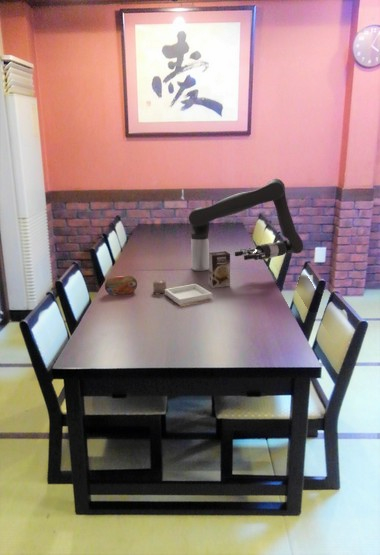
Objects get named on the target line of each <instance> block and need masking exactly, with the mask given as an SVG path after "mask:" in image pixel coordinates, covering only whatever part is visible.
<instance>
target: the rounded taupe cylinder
mask: <svg viewBox="0 0 380 555" xmlns="http://www.w3.org/2000/svg"><path fill="white" fill-rule="evenodd" d="M152 284H153V285H152V287H153V294H155V293H163V294H165V289H167V281H166V280H164V279H157V280H153V282H152Z"/></svg>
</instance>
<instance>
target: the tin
mask: <svg viewBox="0 0 380 555" xmlns="http://www.w3.org/2000/svg"><path fill="white" fill-rule="evenodd" d="M137 287H138V280H137V279H136V278H135V277H133V275H129V274H128V275H127V274H126V275H121V276H112V277H111V276H110V277H109V278H107V280H106V281H105V283H104V289H105V292H107V294H108V295H111V296H115V295H114V294H119V295H126V294H131V293H133V292H135V291H136V289H137ZM125 293H126V294H125Z"/></svg>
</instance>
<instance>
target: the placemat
mask: <svg viewBox="0 0 380 555" xmlns="http://www.w3.org/2000/svg"><path fill="white" fill-rule="evenodd" d="M210 300H212V301H213V298H212V299H208V300H203V301H198V302H193V303H188V304H183V305H179V306H180V307H181V306H182V307H186V305H187V306H192V305H196V304H195V303H197V304H201V302H202V303H205V301H207V302H211V301H210ZM191 304H192V305H191Z"/></svg>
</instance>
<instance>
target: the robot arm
mask: <svg viewBox="0 0 380 555" xmlns="http://www.w3.org/2000/svg"><path fill="white" fill-rule="evenodd" d="M270 202H273V204H274V207H275V212H276V215H277V221H278V225H279V228H280V230H281V235H282V236H283V237H284V238H285V240H282V241H279V242H278V241H277V242H269V243H262V244H258V245H256V247H255V248H252V247H247V248H241V249H240V250H239V251H238V250H237V251H234V256H235V257H240V256H243V260H245V261H248V260H254V261H257V260H261V261H262V260H267V259H273V258H276V257H281V256H284V255H285V254H296V255H298V254H300V253H301V254H302V252H303V250H304V242H303V240H302V238H301V236H300V235H299V233H298V232H297V230H296V226H295V224H294V220H293V217H292V214H291V212H290V209H289V205H288V201H287V197H286V187H285V183H284V182H283V181H282V180H281V179H278V178H272V179H271V180H269V181H268V182H267V184H266V185H265V186H262V187H260V188H257V189H255V190H251V191H243V192H239V193H235V194H232V195H230V196H228V197H225V198H222V199H221V200H219V201H217V202H216V203H214V204H211V205H209V206H205V207H203V206H202V207H201V206H200V207H196V208H194V209H193V210H191V212H190V213H189V215H188V222H189V223H190V225H191V226H192V230H191V233H190V242H191V243H190V244H191V269H192V270H193V271H196V272H200V271H201V272H202V271H209V253H210V250H209V248H210V247H209V234H210V222H211V221H215V220H217V219H220V218H225V217H229V216H232V215H235V214H238V213H241V212H244V211H246V210H248V209H251V208H254V207H257V206H258V205H261V204H265V203H270Z"/></svg>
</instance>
